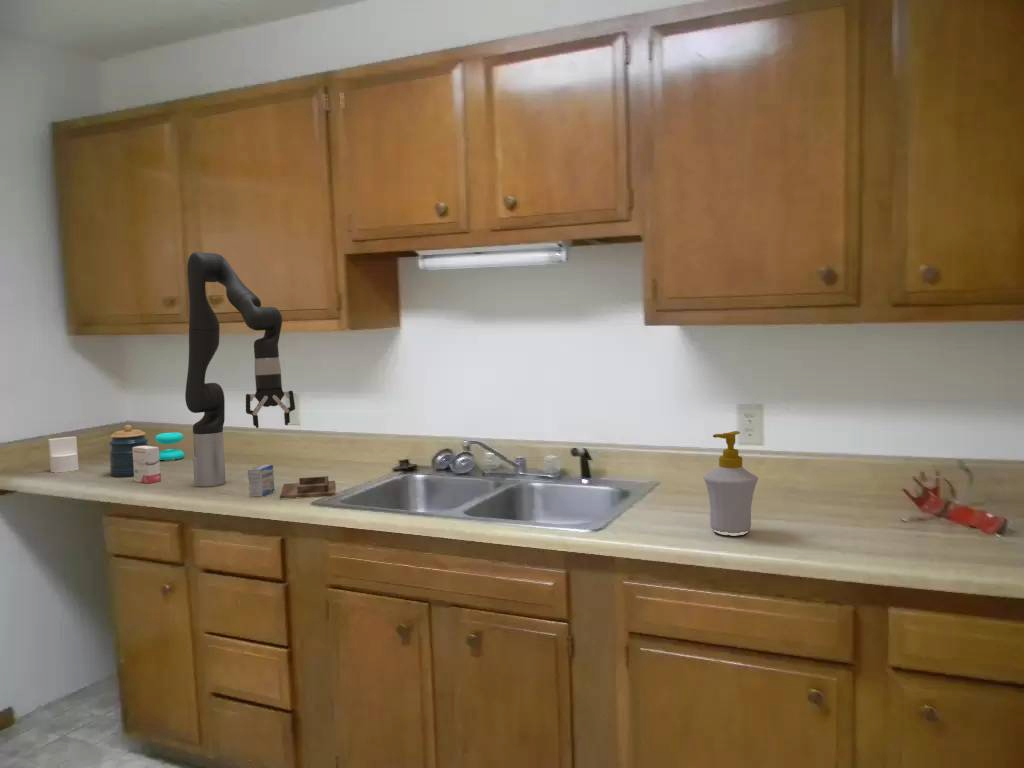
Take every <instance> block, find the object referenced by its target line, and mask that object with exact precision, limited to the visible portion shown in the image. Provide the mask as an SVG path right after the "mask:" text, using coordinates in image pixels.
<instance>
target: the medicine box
mask: <svg viewBox="0 0 1024 768" xmlns="http://www.w3.org/2000/svg"><path fill="white" fill-rule="evenodd" d="M274 474H275V473H274V465H273V464H268V463H267V464H260V465H257V466H255V467H251V468H249V469H247V476H248V477H247V480H248V492H249V493H248V495H249V498H250V497H251V498H263V497H262V496H264V497H266V496H268V495H270V494H272V493H274V492H275V477H274V476H275V475H274ZM273 491H274V492H273ZM271 492H272V493H271ZM269 493H270V494H269ZM267 494H268V495H267ZM265 495H266V496H265Z"/></svg>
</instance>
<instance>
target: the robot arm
mask: <svg viewBox="0 0 1024 768" xmlns="http://www.w3.org/2000/svg"><path fill="white" fill-rule="evenodd" d="M186 266H187V268H186V269H187V273H186V274H187V284H188V285H187V287H188V299H189V300H188V301H189V318H188V319H189V320H188V321H189V322H188V364H187V365H188V366H187V374H186V382H185V383H186V384H185V392H184V393H185V395H184V398H185V400H184V401H185V404H186V407H187V409H188V410H189V411H190V412H191V413H194V414H196V413H197V414H200V413H203V414H204V415H203V416H202V418H200V420H198V421H196V422H195V423H194V424H193V425H192V439H193V440H192V441H193V455H194V456H193V457H192V460H193V461H192V462H193V463H192V465H193V481H194V487H203V488H205V487H207V488H208V487H215V486H221V485H224V484H226V467H225V465H226V463H225V445H224V444H225V443H224V425H225V415H226V414H225V409H226V407H225V393H224V390H223V388H222V386H221V385H220V384H219V383H216V382H207V383H205V382H206V380H205V379H206V372H207V371H208V367H209V365H210V363H211V361H212V359H213V357H214V356H215V354H216V352H217V350H218V347H219V345H220V328H221V327H220V322H219V319H218V317H217V315H216V313H215V311H214V310H213V308H212V306H211V305H210V303H209V301H208V297H207V292H206V283H219V284H221V285H223V286H224V287H225V288H226V289H225V293H226V298H227V300H228V302H229V303H230V304H231V305H232V306H233V308H235V309H236V310H237V311H238V312H239V313H240V315H241V317H242V319H243V321H244V323H245V325H246V326H247V327H248V328H249V329H250V330H253V331H259V332H260V331H264V335H263V337H261V338H258V339H256V340H255V341H254V342H253V353H254V354H253V355H254V379H255V391H256V392H255V393H252V394H251V393H246V394H245V413H246V414H247V415H251V416H252V423H253V426H254V427H255V428H256V429H259V415H258V413H259V412H260V410H261V409H262V407H264V408H269V407H277V406H279V407H280V408H281V409H282V411H284V412H283V414H284V415H283V416H284V425H285V426H288V425H289V424H290V422H291V421H290V412H293V411H295V410H296V405H295V397H294V391H292V390H288V391H284V390H283V386H282V385H283V382H282V367H281V361H280V354H279V353H280V352H279V340H280V337H281V336H280V335H281V330H282V326H283V316H282V314H281V312H280V310H279V309H278V308H276V307H273V306H262V303H261V302H262V301H261V299H260V298H259V297H258V296H257V295H256V294H255V293H254V292H253V291H251V290H250V288H248V287H247V286H246V285H245V284H244V283H243V282H242V280H241V279H240V278H239V276H238V274H237V273H236V272H235V270H234V269H233V268H232V267H231V265H230V263H229V262H228V261H227V260H226V258H225V257H224V256H223V255H221V254H219V253H215V252H201V251H200V252H199V251H197V252H192V253H191V254H190V255H189V257H188V260H187V265H186ZM284 396H286V397H285V398H287V399H288V402H289V407H287V406H286V404H284V403H283V401H282V400H283V398H284ZM254 398H255V399H256V400H257V401H258V403H257V405H256V406H255V408H254V409H253V410H252V409H251V402H252V401H253V400H254Z"/></svg>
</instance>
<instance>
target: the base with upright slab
mask: <svg viewBox="0 0 1024 768" xmlns="http://www.w3.org/2000/svg"><path fill="white" fill-rule="evenodd" d="M77 442H78V440H77V436H66V437H65V436H64V437H56V438H48V451H49V463H50V466H49V467H50V473H51V472H66V473H68V472H67V471H73V472H75V471H74V470H77V471H79V470H78V469H79V457H78V455H79V453H78V443H77Z"/></svg>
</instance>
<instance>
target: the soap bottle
mask: <svg viewBox="0 0 1024 768" xmlns="http://www.w3.org/2000/svg"><path fill="white" fill-rule="evenodd" d="M739 434H741V432H740V431H739V430H734V431H730V432H723V433H715V434H713V435H712V437H713V438H719V439H724V440H725V443H726V445H727V448H725V449H723V451H722V455H720V456H719V457H718V467H716V468H714V469H713V470H712V471H708V472H706V473H705V474H704V475H703V479H704V482H705V486H706V489H707V494H708V500H709V501H708V502H709V505H710V506H709V515H710V517H709V525H710V528H712V529H713V530H716V531H720V532H728V533H740V532H746V531H749V532H750V530H751V527H752V503H753V497H754V494H755V493H754V492H755V490H756V485H757V483H758V481H759V478H758V476H757V475H756V474H754V473H752V472H750V471H748V470H747V469H746V468H744V467H743V457H742V456H739V450H738V449H737V448H735V447H734V446H735V444H736V435H739ZM712 529H711V530H712ZM713 530H712V531H713Z"/></svg>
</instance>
